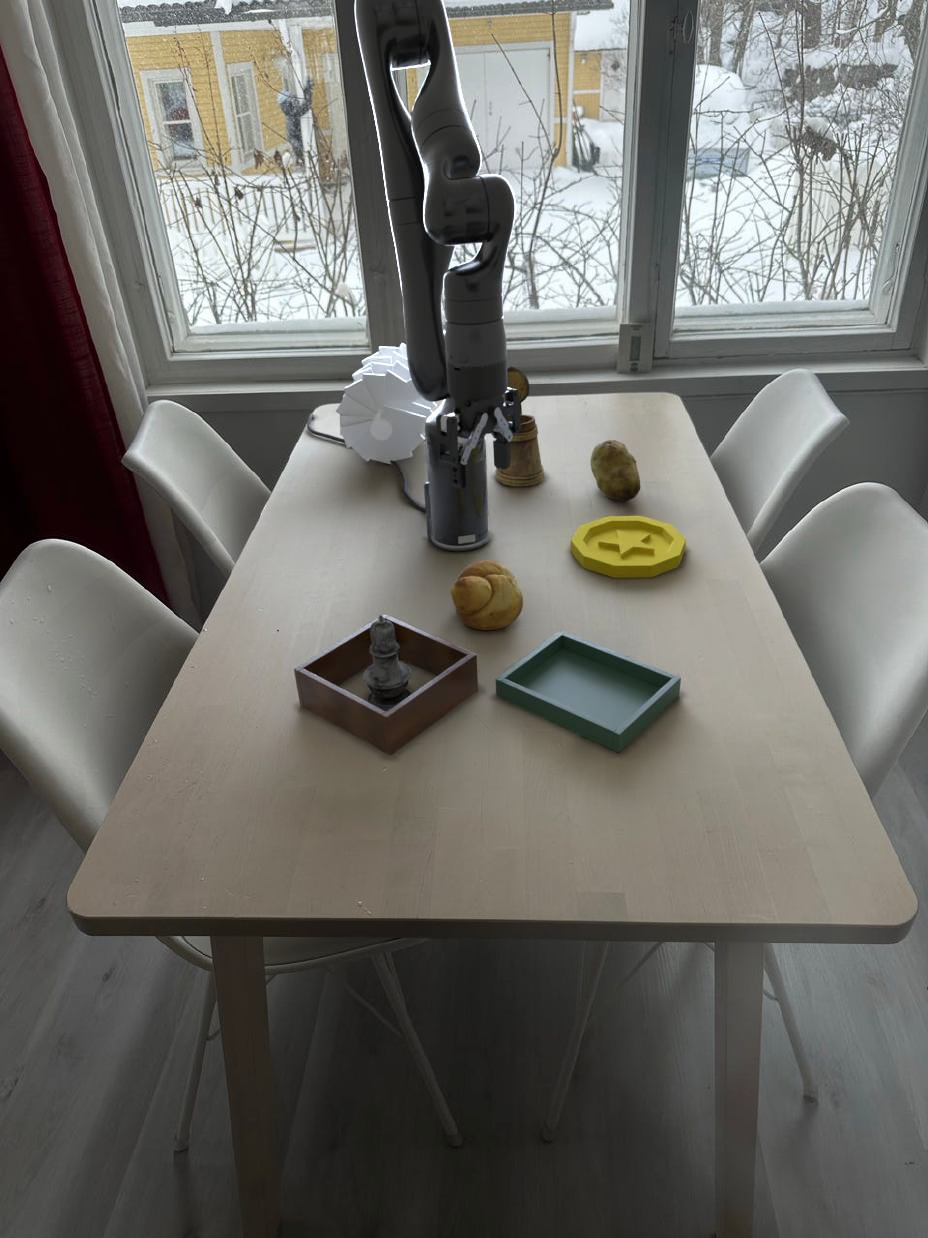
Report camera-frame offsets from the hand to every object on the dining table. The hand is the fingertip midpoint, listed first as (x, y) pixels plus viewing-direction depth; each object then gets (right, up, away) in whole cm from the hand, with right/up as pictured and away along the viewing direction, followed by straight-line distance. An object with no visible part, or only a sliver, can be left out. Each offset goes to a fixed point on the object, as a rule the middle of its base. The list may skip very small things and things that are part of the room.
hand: (482, 478), depth 122 cm
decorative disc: (+23, -8, +22) cm, 33 cm away
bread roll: (+1, -18, +8) cm, 20 cm away
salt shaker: (-12, -28, -8) cm, 32 cm away
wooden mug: (+8, +9, +50) cm, 51 cm away
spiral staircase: (-17, +16, +64) cm, 68 cm away
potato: (+24, +4, +41) cm, 48 cm away
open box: (-12, -28, -8) cm, 32 cm away
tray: (+13, -28, -9) cm, 32 cm away
